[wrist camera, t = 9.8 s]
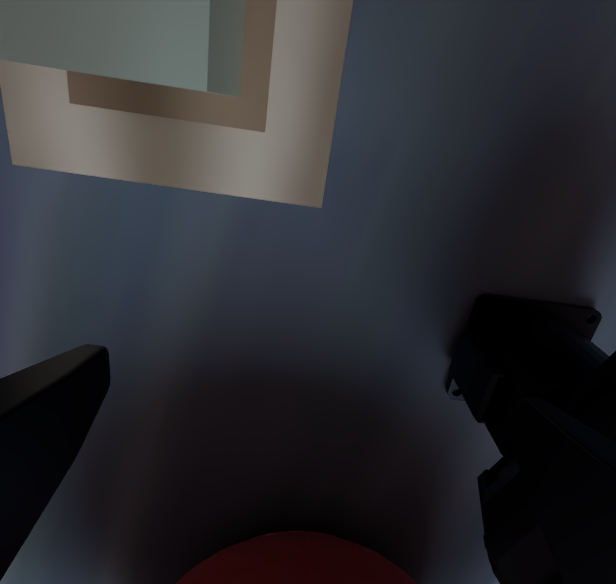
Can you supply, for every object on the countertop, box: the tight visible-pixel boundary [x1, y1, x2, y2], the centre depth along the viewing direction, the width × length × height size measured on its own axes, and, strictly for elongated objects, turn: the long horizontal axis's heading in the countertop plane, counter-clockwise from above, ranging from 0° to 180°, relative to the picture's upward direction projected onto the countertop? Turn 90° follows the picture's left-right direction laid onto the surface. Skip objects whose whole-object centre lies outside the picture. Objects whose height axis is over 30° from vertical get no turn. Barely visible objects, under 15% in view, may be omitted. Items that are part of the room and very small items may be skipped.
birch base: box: [0, 0, 353, 208], centre depth 15 cm, size 12×12×3 cm
